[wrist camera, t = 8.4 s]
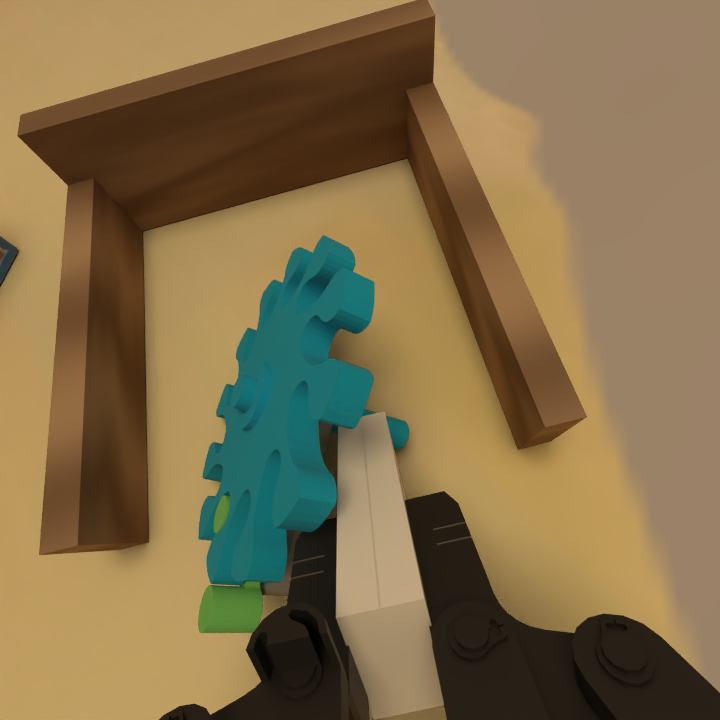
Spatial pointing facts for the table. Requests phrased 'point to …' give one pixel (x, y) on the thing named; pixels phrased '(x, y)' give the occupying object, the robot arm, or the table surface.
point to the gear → (283, 433)
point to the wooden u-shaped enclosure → (239, 185)
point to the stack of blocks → (6, 257)
